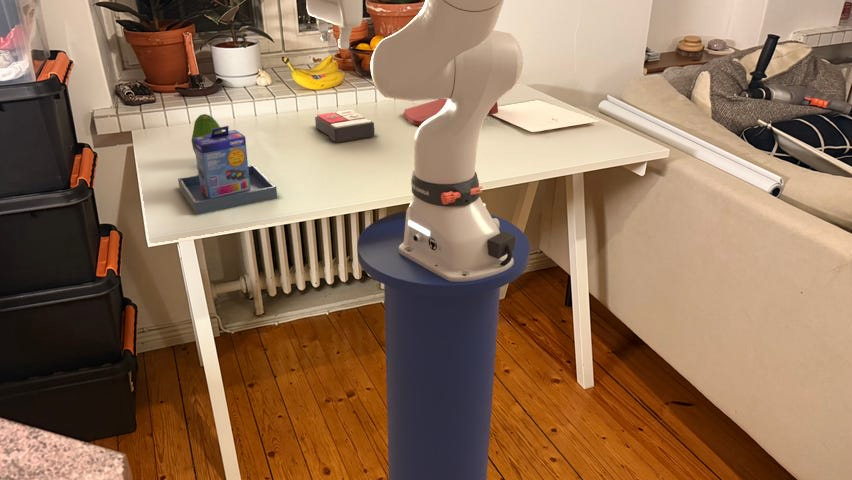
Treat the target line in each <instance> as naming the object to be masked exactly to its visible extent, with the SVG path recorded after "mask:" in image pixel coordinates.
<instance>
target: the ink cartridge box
mask: <svg viewBox="0 0 852 480" xmlns="http://www.w3.org/2000/svg"><path fill="white" fill-rule="evenodd" d="M229 127H230V126H229V125H225V126H220V128H215V129H212V133H211V134H209V135H205V136H200V137H196V138H193V142H194V148H195V152H194V154H195V160H196V167H197V173H198V174H197V175H199V181H200V188H201V192H202V193H203V194H204V195H205V196H206V197H207V198H208V199H212V198H216V197H221V196H225V195H229V194H233V193H238V192H242V191H246V190H250V181H249V171H248V166H249V163H248V161H249V160H248V150H247V140H246V136H245V135H244V134H243V133H241V132H239V130H236V129H232V130H231V129H230V130H229ZM219 130H222V131H223V132H219V133H215V132H216V131H219Z"/></svg>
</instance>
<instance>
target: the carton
mask: <svg viewBox="0 0 852 480" xmlns="http://www.w3.org/2000/svg"><path fill="white" fill-rule="evenodd" d="M447 100H448V99H436V100H431V101H428V102H426V103H422V104H418V105H415V106H412V107H408V108H405V109H404V110H403V117H404V119H406V120H407V121H408V122H410V123H411V124H412V125H414V126H419V127H420V126H421V124H422V123H423V122H425V121H426V120H427V119H429V118H431V117H433V116H435V115H436V114H437V113H439V112H440V111H441V110H442V109H443V107H444V106H445V104H446V102H447ZM498 107H499V105H498V101H497V102H496V103H495V104H494V105H493V107H492V108H491V109H490V111H489V113H490V115H492V114H495V113H498ZM489 113H488V114H489Z"/></svg>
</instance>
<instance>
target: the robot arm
mask: <svg viewBox="0 0 852 480" xmlns="http://www.w3.org/2000/svg"><path fill="white" fill-rule="evenodd" d="M363 1H364V0H306V1H305V2H306V10H307V14H308V15H309V16H311V17H314V18H315V20H316V21H315V22H316V25H317V26H316V27H317V28H318V31H319V39H320V41H321V42H330V41H331V32H330V29H329V24H328V23H330V24H333V25H336V26H338V31H339V39H337V44H338V45H337V47H338V48H339V49H341V50H348V49H350V38H351V35H352V29H354V28H359V27H361V25H362V22H363V13H364V11H363V10H364V9H363V4H364V3H363ZM504 1H505V0H424V4H423V6H422V8H421V9H420V11H419V12H418V13H417V15H416V16H415V17H413V19H412V20H410V22H409V23H408V24H406V25H404V27H403V28H401V29H400V30H398V31H397V32H395V33H393V34H391V35H389V36H387V37H385V38H383V39H381V41H379V42H378V44H377V45H376V46H375V49H374V51H373V53H372V56H371V59H370V75H371V78H372V82H373V84H374V87H376V89H377V91H378V92H379V93H380V94H381V95H382V96H383V97H384V98H387V99H393V100H399V101H408V102H418V101H435V100H439V99H448V100H447V102H446V104H445V106H444V107H443V109H442V110H441V111H440V112H439V113H437V114H436V115H435V116H433V117H431V118H429V119H427V120H426V121H425V122H423V123H422V124H421V126H419V127H418V128H417V130H416V132H415V134H414V138H413V149H414V150H413V171H412V172H411V178H410V186H411V193H412V197H411V199H410V203H409V205H408V207H407V209H406V210H405V211H406V221H405V233H404V242H403V243H402V244H401V245H400V246H399V251H398V252H399V253H400V254H401V255H403V256H405V257H406V258H408V259H410V260H412V261H414V262H415V263H417V264H419V265H421V266H422V267H424V268H426V269H428V270H430V271H431V272H433V273H435V274H437V275H438V276H440V277H442V278H444V279H446V280H448V281H450V282H466V281H473V280H478V279H483V278H487V277H490V276H493V275H496V274H499V273H502V272H504V271H506V270H507V269H509V268H510V267H511V266H512V265H513V264H514V260H513V258H512V251H513V250H514V247H515V235H513V234H510V233H508V232H505V231H503V232H501V233H500V231H499V227H500V224H499V220H498V219H497V218H493V219H492V217H491V216H490V212H489V210H488V209H487V206H486V203H484V202H483V201H482V198H481V193H483V192H484V191H482V189H483V186H480V181H479V178H478V173H477V171H476V163H477V162H476V161H477V150H478V142H479V136H480V132H481V129H482V126H483V123H484V122H485V119H486V117H487V115H488V114H489V113H488V112H489V111H490V109H491V108H492V107H493V105H494V104H495V103H496V102H497V103H498V101H499V100H500V99H501V98H502V97H503V96H504V95H506V94H507V93H508V92H509V91H511V90H512V89H513V88H514V86H516V84H517V83H518V81H519V80H520V77H521V74H522V71H523V66H524V56H523V51H522V49H521V46H520V44H519V41H517V39H516V38H515V36H514V35H513V34H511V33H510V32H505V31H500V30H495V27H496V25H497V22H498V19H499V15H500V13H501V10H502V7H503V5H504Z"/></svg>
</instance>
